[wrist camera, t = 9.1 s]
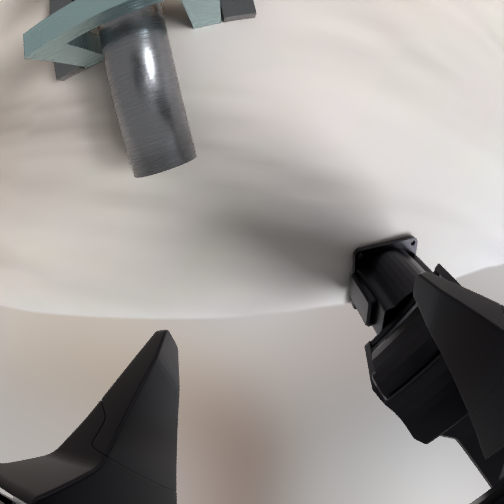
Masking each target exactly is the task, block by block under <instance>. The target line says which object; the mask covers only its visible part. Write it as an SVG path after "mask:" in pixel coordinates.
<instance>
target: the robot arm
mask: <svg viewBox="0 0 504 504" xmlns="http://www.w3.org/2000/svg"><path fill="white" fill-rule="evenodd" d="M412 241H413V242H412ZM411 242H412V243H411ZM416 249H417V239H416V238H415V237H414V236H410V237H406V238H402V239H397V240H393V241H389V242H385V243H380V244H376V245H372V246H367V247H363V248H358V249H356V250H355V251H354V253H353V273H352V274H351V278H350V297H351V299H352V306H353V308H354V309H357V310H358V312H359V314H360V315H361V317H362V319H363V321H364V323H365V325H367V326H373V328H374V330H375V331H376V333H377V336H376V337H375V338H374V339H373V340H372V341H369V342H368V343H367V344H366V345H365V351H366V357H367V362H368V368H369V374H370V380H371V384H372V389H373V391H374V392H375V393H376V394H377V396H378V397H379V398H380V400H382V401H383V403H384V404H385V405H386V406H387V407H389V408H390V409H391V410H393V412H395V413H396V415H398V417H399V418H400V419H401V420H402V421H403V423H404V424H405V425H406V427H407V428H408V430H409V431H410V433H411V435H412V436H413V437H414V439H416V440H418V441H420V442H422V443H424V444H428V443H430V442H431V441H433V440H434V439H435V438H437V437H439V436H443V437H448V438H453V439H455V440H456V441H457V442H458V443H459V444H460V446H461V447H462V448H463V450H464V451H465V452H466V454H467V455H468V456H469V458H470V459H471V460H472V462H473V463H474V465H475V466H476V467H477V468H478V470H479V471H480V473H481V474H482V476H483V477H484V479H485V480H486V481H487V483H488V484H489V486H490V487H491V489H490V490H488V491H487V492H486V493H484V494H483V495H482V496H480V497H479V498H477V499H476V500H475V501H473V502H472V503H470V504H504V306H503V305H500V304H499V303H497V302H495V301H492V300H490V299H488V298H486V297H484V296H482V295H480V294H477V293H475V292H473V291H471V290H469V289H466V288H464V287H462V286H461V285H460V284H459V283H458V282H457V281H456V280H455V279H454V278H453V277H452V276H451V275H450V274H449V273H448V272H447V271H446V270H445V269H444V268H443V267H442V266H441V265H440V264H438V265H437V266H436V267H435V271H434V272H432V271H431V270H430V269H429V268H428V267H427V266H426V265H425V264H424V263H423V262H422V261H421V260H420V259H419V258H418V257H417V256H416ZM360 253H361V255H360V256H358V255H359V254H360ZM178 365H179V364H178V349H177V345H176V343H175V341H174V339H173V338H172V336H171V334H170V332H169V331H168V330H160V331H156V332H155V333H154V335H153V336H152V337H151V338H150V340H149V341H148V342H147V343H146V345H145V346H144V347H143V348H142V349H141V351H140V352H139V353H138V354H137V355H136V357H135V358H134V359H133V360H132V362H131V363H130V364H129V365H128V367H127V368H126V369H125V370H124V372H123V373H122V374H121V375H120V377H119V378H118V379H117V380H116V382H115V383H114V384H113V385H112V387H111V388H110V389H109V390H108V392H107V393H106V394H105V396H104V397H103V398H102V401H100V402H99V403H98V404H97V406H96V407H95V408H94V409H93V411H92V412H91V413H90V414H89V415H88V417H87V418H86V419H85V420H84V421H83V422H82V423H81V424H80V426H79V427H78V428H77V429H76V430H75V431H74V432H73V433H72V434H71V435H70V436H69V437H68V438H67V439H66V440H65V442H64V443H63V444H62V445H61V446H60V447H59V448H58V449H57V450H55V451H54V452H52V453H50V454H48V455H45V456H41V457H36V458H32V459H27V460H22V461H17V462H11V463H0V487H1V488H2V489H4V490H5V491H7V492H8V493H10V494H11V495H13V499H12V498H10V497H8V496H6V495H4V494H2V493H0V504H177V496H176V495H177V493H176V460H177V458H176V457H177V427H178V407H179V366H178Z"/></svg>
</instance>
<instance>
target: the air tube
mask: <svg viewBox="0 0 504 504" xmlns="http://www.w3.org/2000/svg"><path fill="white" fill-rule="evenodd" d="M98 28H99V34H100V41H101V46H102V52H103V57H104V63H105V68H106V72H107V77H108V82H109V86H110V91H111V95H112V99H113V103H114V107H115V111H116V115H117V119H118V123H119V127H120V130H121V134H122V137H123V141H124V144H125V148H126V151H127V155H128V158H129V161H130V164H131V168H132V171H133V174H134V177H136V178H139V177H145V176H149V175H153V174H156V173H160V172H163V171H166V170H169V169H172V168H174V167H177V166H180V165H182V164H184V163H187V162H189V161H191V160H193V159H194V158H196V152H195V148H194V144H193V140H192V136H191V132H190V129H189V125H188V120H187V116H186V112H185V108H184V104H183V100H182V96H181V92H180V87H179V83H178V79H177V75H176V70H175V66H174V61H173V57H172V52H171V48H170V43H169V39H168V34H167V29H166V25H165V20H164V15H163V10H162V5H161V2H159V3H155V4H152V5H149V6H147V7H144V8H141V9H138V10H135V11H133V12H130V13H128V14H125V15H123V16H120V17H118V18H116V19H113V20H111V21H109V22H107V23H104V24H102V25H100V26H98Z"/></svg>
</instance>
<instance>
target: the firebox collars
mask: <svg viewBox="0 0 504 504" xmlns="http://www.w3.org/2000/svg"><path fill="white" fill-rule="evenodd" d="M162 1H165V0H50V16H49V17H47V18H46V19H44V20H43V21H41V22H40V23H38V24H37V25H36V26H34V27H33V28H31V29H30V30H29V31H27V32H26V33H25V34H23V40H24V56H25V59H34V60H43V61H51V62H54V65H55V72H56V78H57V80H63V81H64V80H66V79H67V78H69V77H71V76H73V75H75V74H77V73H78V72H80V71H82V70H84V69H85V67H87V68H88V67H90V66H92V65H94V64H96V63H98V62H100V61H103V60H104V57H103V52H102V46H101V41H100V36H99V35H96V34H94V33H92V32H90V30H92V29H94V28H96V27H98V26H100V25H102V24H104V23H107V22H109V21H111V20H113V19H116V18H118V17H120V16H123V15H125V14H128V13H130V12H133V11H135V10H138V9H141V8H144V7H147V6H149V5H152V4H155V3H159V2H162ZM181 1H182V3H183V5H184V7H185V10H186V12H187V14H188V16H189V19H190V21H191V23H192V25H193V28H194V29H195V28H199V27H203V26H208V25H212V24H217V23H221V11H220V6H221V10H222V14H223V18H224V22H228V21H234V20H241V19H248V18H255V16H256V10H255V6H254V2H253V0H181Z"/></svg>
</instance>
